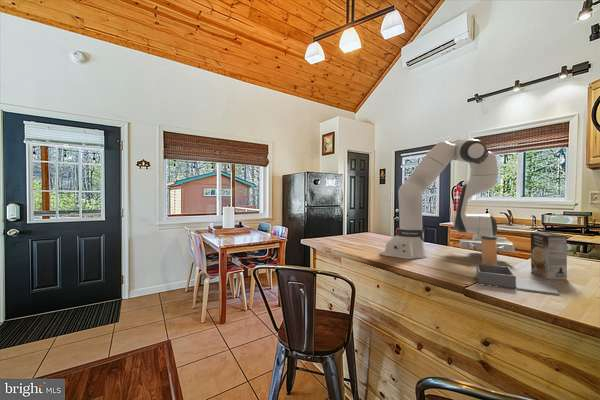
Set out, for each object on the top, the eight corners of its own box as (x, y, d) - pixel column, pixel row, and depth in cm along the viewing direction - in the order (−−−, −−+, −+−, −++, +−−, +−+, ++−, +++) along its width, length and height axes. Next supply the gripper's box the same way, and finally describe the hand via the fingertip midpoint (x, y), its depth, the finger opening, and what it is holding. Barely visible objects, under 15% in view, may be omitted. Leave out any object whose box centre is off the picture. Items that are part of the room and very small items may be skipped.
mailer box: (478, 284, 87) (478, 272, 87) (476, 274, 97) (476, 263, 97) (559, 295, 76) (559, 281, 76) (547, 283, 86) (547, 270, 86)
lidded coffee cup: (482, 270, 102) (481, 237, 102) (481, 267, 107) (480, 235, 107) (498, 272, 100) (497, 237, 99) (496, 269, 104) (495, 236, 104)
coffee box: (530, 271, 99) (529, 232, 99) (548, 272, 98) (548, 232, 98) (547, 279, 90) (547, 235, 90) (568, 279, 89) (568, 235, 89)
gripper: (458, 235, 127) (459, 239, 115) (510, 238, 116) (516, 243, 104) (459, 247, 127) (459, 253, 115) (510, 251, 116) (516, 258, 104)
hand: (487, 248), depth 110 cm, fingers open, 8 cm apart
